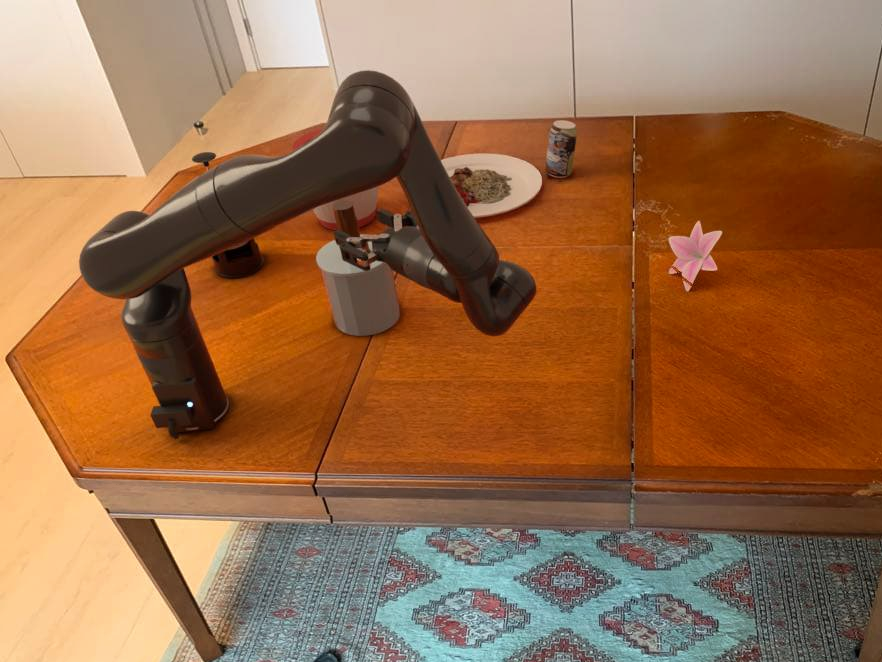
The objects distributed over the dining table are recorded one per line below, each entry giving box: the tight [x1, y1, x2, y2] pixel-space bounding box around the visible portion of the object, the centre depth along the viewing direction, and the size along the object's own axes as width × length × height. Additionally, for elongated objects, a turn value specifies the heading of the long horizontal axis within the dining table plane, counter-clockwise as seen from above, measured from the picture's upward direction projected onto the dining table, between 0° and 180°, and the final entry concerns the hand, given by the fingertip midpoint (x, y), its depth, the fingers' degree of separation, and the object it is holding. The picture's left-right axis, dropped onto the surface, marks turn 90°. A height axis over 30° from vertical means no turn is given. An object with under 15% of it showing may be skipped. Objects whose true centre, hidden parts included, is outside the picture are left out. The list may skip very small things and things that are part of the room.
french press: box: [191, 151, 265, 280], centre depth 152 cm, size 12×9×23 cm
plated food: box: [440, 152, 543, 219], centre depth 178 cm, size 30×30×3 cm
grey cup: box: [320, 263, 401, 337], centre depth 141 cm, size 12×12×12 cm
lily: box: [668, 220, 723, 292], centre depth 149 cm, size 12×12×10 cm
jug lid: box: [315, 200, 385, 276], centre depth 134 cm, size 13×13×10 cm
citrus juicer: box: [291, 127, 379, 231], centre depth 165 cm, size 16×17×20 cm
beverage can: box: [544, 119, 578, 179], centre depth 180 cm, size 6×7×12 cm
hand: (358, 225), depth 130 cm, fingers open, 8 cm apart
